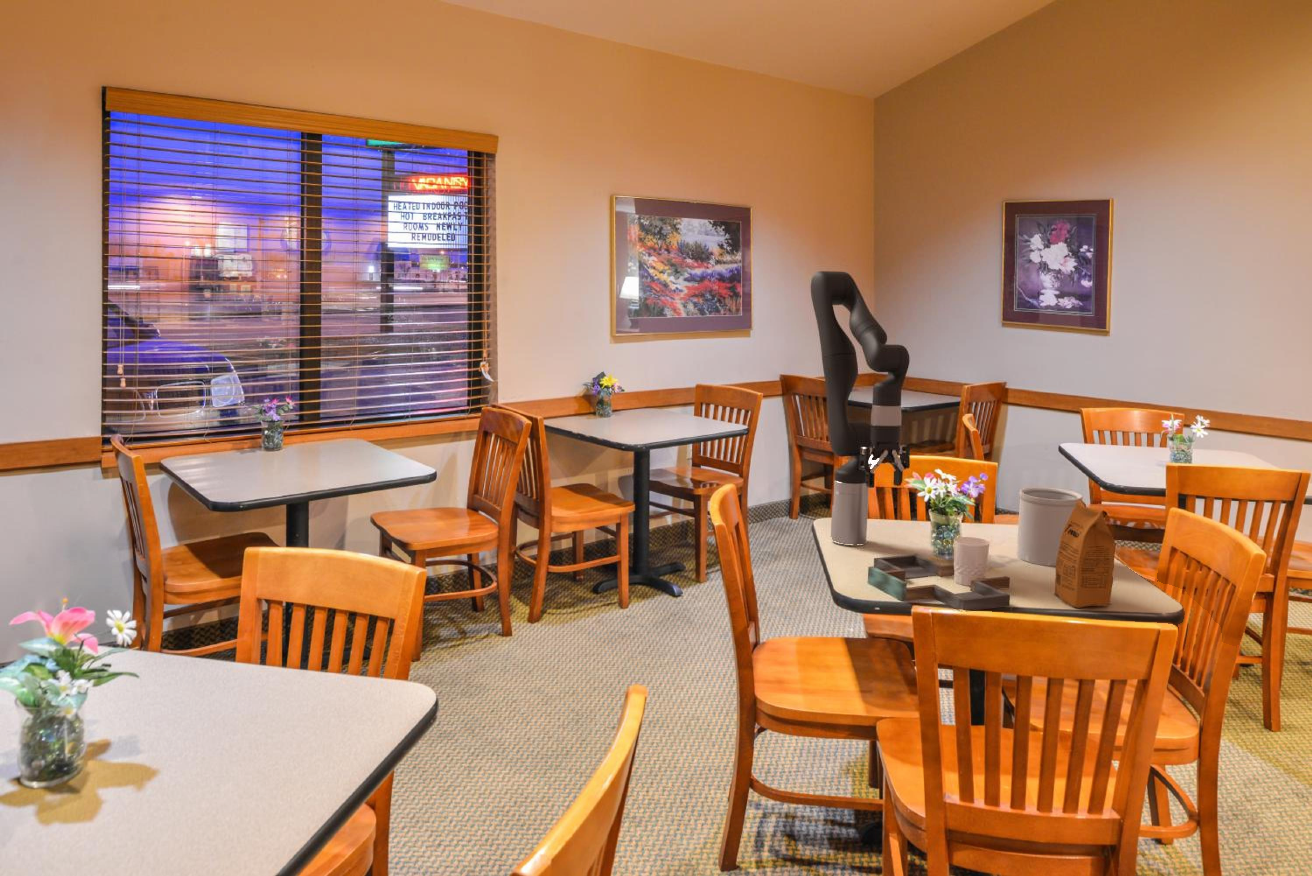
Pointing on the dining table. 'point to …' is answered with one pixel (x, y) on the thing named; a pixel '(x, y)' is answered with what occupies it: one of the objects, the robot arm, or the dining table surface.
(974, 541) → the white cup
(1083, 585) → the coffee package
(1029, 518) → the utensil holder
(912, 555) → the grey compartment tray
